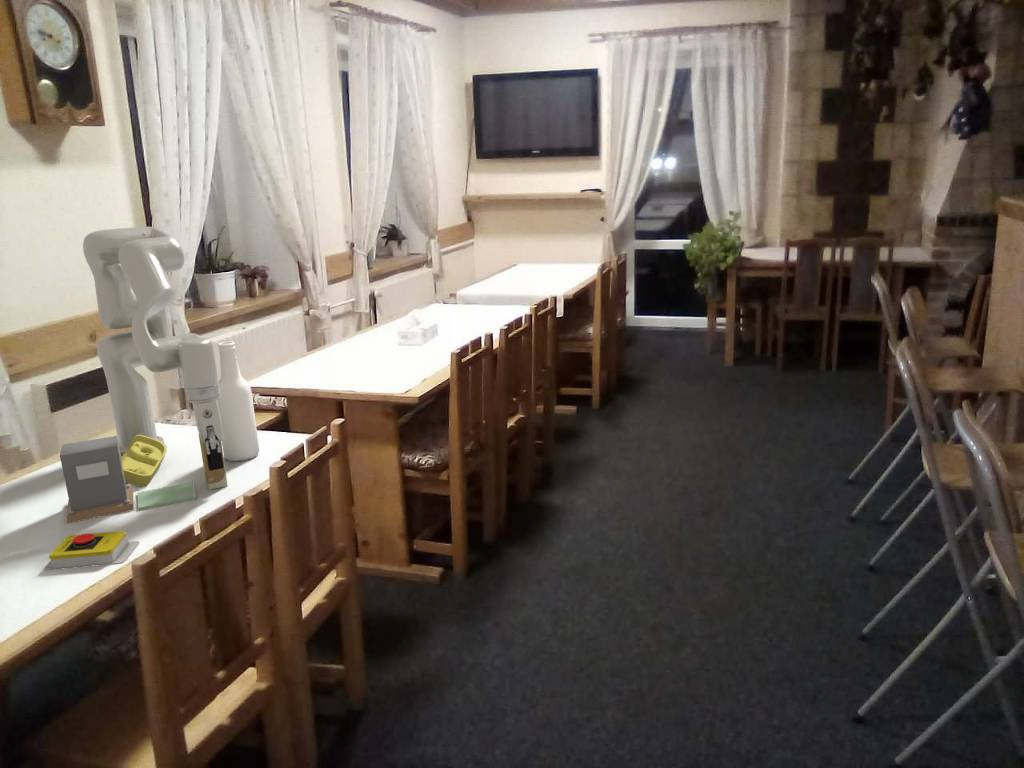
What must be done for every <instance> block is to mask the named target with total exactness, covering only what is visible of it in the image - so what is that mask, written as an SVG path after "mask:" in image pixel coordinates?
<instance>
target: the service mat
mask: <svg viewBox="0 0 1024 768" xmlns="http://www.w3.org/2000/svg"><path fill="white" fill-rule="evenodd" d="M195 489H196V488H195V485H194V482H193V481H190V482H184V483H179V484H174V485H170V486H164V487H159V488H153V489H149V490H143V491H139V492H137V507H138V508H137V509H138V511H143V510H147V509H152V508H157V507H163V506H168V505H172V504H173V505H174V504H177V503H183V502H184V503H185V502H188V501H194V500H197V493H196V490H195Z"/></svg>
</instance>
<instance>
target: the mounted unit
mask: <svg viewBox="0 0 1024 768" xmlns="http://www.w3.org/2000/svg"><path fill="white" fill-rule="evenodd" d="M59 458H60V463H61V467H62V468H61V469H62V473H63V479H64V483H65V487H66V492H67V497H68V500H67V507H66V512H65V520H66V523H67V524H70V523H73V522H74V521H75V522H79V520H80V521H85V520H90V519H94V518H93V517H95V518H99V517H98V516H100V517H104V516H109V515H110V516H111V515H115V514H120V513H123V512H124V513H125V512H130V511H134V510H135V509H134V490H133V484H130V483H126V480H125V475H124V469H123V464H122V459H121V458H122V455H121V453H120V448H119V443H118V437H117V435H115V436H114V435H113V436H107V437H101V438H96V439H89V440H83V441H77V442H71V443H65V444H64V443H63V444H62V445H61V448H60V453H59ZM89 518H90V519H89ZM84 519H85V520H84ZM69 522H70V523H69Z"/></svg>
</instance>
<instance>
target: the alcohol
mask: <svg viewBox="0 0 1024 768" xmlns="http://www.w3.org/2000/svg"><path fill="white" fill-rule="evenodd" d="M235 344H236V343H235V342H234V341H222V342H219V343H218V344H217V346H218V348H217V349H218V351H219V362H220V363H219V365H220V368H219V369H220V377H219V378H220V379H219V386H220V392H221V397H220V398H219V399H217V402H218V406H219V411H220V417H221V423H222V429H223V435H224V441H221V442H222V449H223V457H224V459H226V460H227V461H229V460H230V461H229V462H243V460H245V461H249V460H252V459H254V458H256V457H257V456H258V455H259V453H260V444H259V437H258V431H257V429H258V428H257V422H256V421H257V420H256V417H255V409H254V401H253V399H254V398H253V394H252V388H251V386H250V383H249V382H248V381H247V380H246V378H245V379H244V378H243V376H242V374H241V370H240V366H239V362H238V358H237V354H236V346H235ZM255 456H256V457H255ZM253 457H254V458H253ZM251 458H252V459H251ZM248 459H249V460H248Z"/></svg>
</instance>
